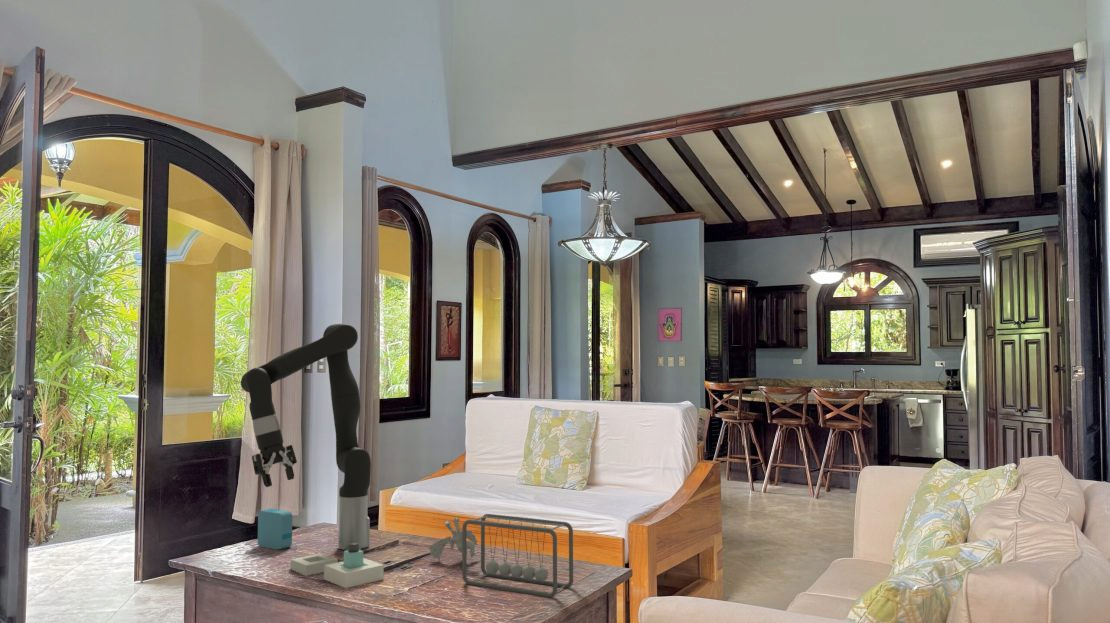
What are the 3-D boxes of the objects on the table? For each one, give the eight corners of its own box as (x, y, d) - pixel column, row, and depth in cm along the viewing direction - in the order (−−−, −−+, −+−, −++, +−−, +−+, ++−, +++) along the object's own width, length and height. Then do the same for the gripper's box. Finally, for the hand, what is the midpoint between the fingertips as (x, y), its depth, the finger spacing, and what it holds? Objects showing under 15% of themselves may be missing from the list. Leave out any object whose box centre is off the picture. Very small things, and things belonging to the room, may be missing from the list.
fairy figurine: (483, 559, 227) (462, 518, 226) (437, 577, 233) (416, 537, 233) (496, 544, 236) (475, 505, 235) (450, 561, 242) (431, 523, 242)
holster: (321, 563, 234) (321, 553, 234) (337, 569, 226) (337, 559, 227) (290, 569, 227) (290, 559, 227) (306, 576, 219) (306, 565, 220)
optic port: (361, 571, 224) (361, 557, 225) (383, 579, 216) (383, 564, 216) (324, 579, 216) (324, 565, 216) (345, 588, 207) (345, 573, 208)
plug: (355, 576, 219) (356, 541, 219) (363, 579, 216) (363, 543, 216) (343, 579, 216) (343, 544, 216) (350, 582, 213) (350, 546, 214)
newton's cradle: (461, 583, 211) (461, 519, 212) (482, 574, 220) (482, 512, 222) (556, 599, 197) (555, 529, 198) (574, 588, 206) (573, 522, 207)
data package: (292, 547, 254) (292, 511, 255) (281, 550, 250) (281, 513, 251) (268, 543, 260) (268, 508, 261) (257, 546, 256) (257, 510, 257)
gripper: (256, 433, 226) (269, 487, 224) (293, 424, 238) (306, 475, 237) (240, 438, 229) (253, 491, 228) (277, 429, 242) (290, 479, 240)
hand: (280, 482), depth 232 cm, fingers open, 8 cm apart
